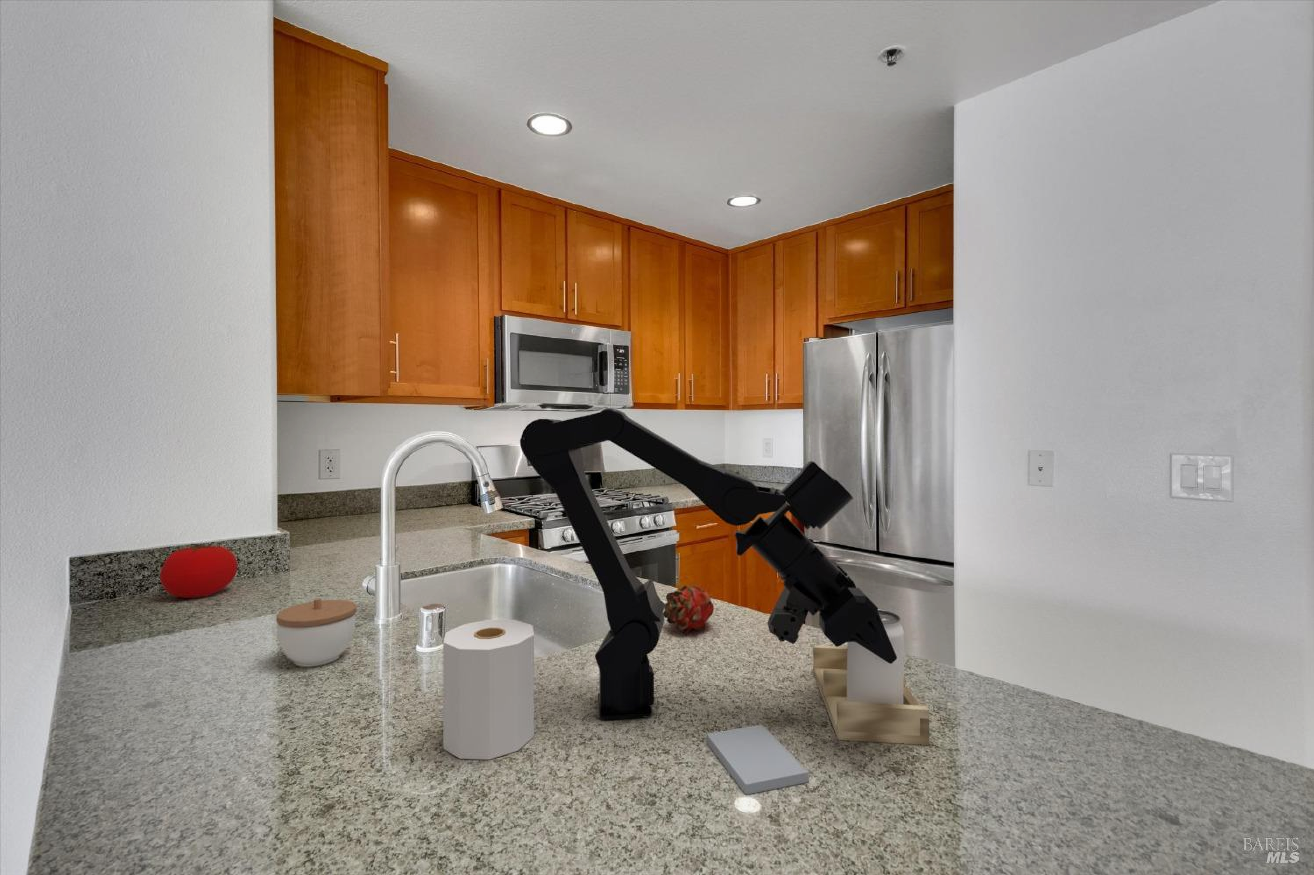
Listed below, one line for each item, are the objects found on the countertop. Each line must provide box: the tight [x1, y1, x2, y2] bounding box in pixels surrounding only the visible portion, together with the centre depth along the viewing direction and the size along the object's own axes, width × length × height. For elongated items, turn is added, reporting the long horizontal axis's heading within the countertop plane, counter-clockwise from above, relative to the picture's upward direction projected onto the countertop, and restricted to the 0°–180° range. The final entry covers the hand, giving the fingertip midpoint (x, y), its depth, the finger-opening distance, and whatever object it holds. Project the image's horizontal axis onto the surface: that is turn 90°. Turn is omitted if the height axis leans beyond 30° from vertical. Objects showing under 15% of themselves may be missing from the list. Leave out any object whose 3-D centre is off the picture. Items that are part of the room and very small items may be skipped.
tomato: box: [159, 543, 239, 599], centre depth 126 cm, size 12×13×11 cm
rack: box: [812, 644, 930, 746], centre depth 76 cm, size 10×19×4 cm, turn 174°
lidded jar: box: [275, 597, 357, 668], centre depth 90 cm, size 11×11×9 cm
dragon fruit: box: [663, 584, 715, 634], centre depth 105 cm, size 8×8×12 cm
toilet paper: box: [442, 619, 535, 760], centre depth 68 cm, size 10×10×12 cm
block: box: [706, 724, 810, 796], centre depth 63 cm, size 7×10×1 cm
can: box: [846, 608, 905, 705], centre depth 71 cm, size 6×6×12 cm
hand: (884, 648), depth 71 cm, fingers open, 8 cm apart
